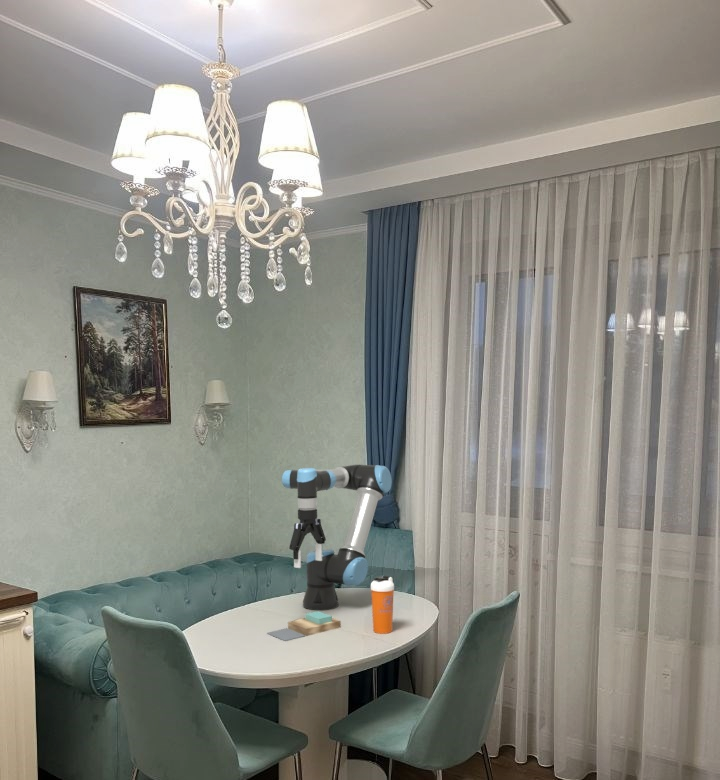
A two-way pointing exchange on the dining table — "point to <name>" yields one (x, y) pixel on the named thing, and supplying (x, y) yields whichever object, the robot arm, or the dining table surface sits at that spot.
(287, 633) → the mat
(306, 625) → the tan wooden board
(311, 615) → the turquoise rectangular block
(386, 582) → the shaker bottle
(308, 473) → the robot arm
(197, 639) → the dining table surface
